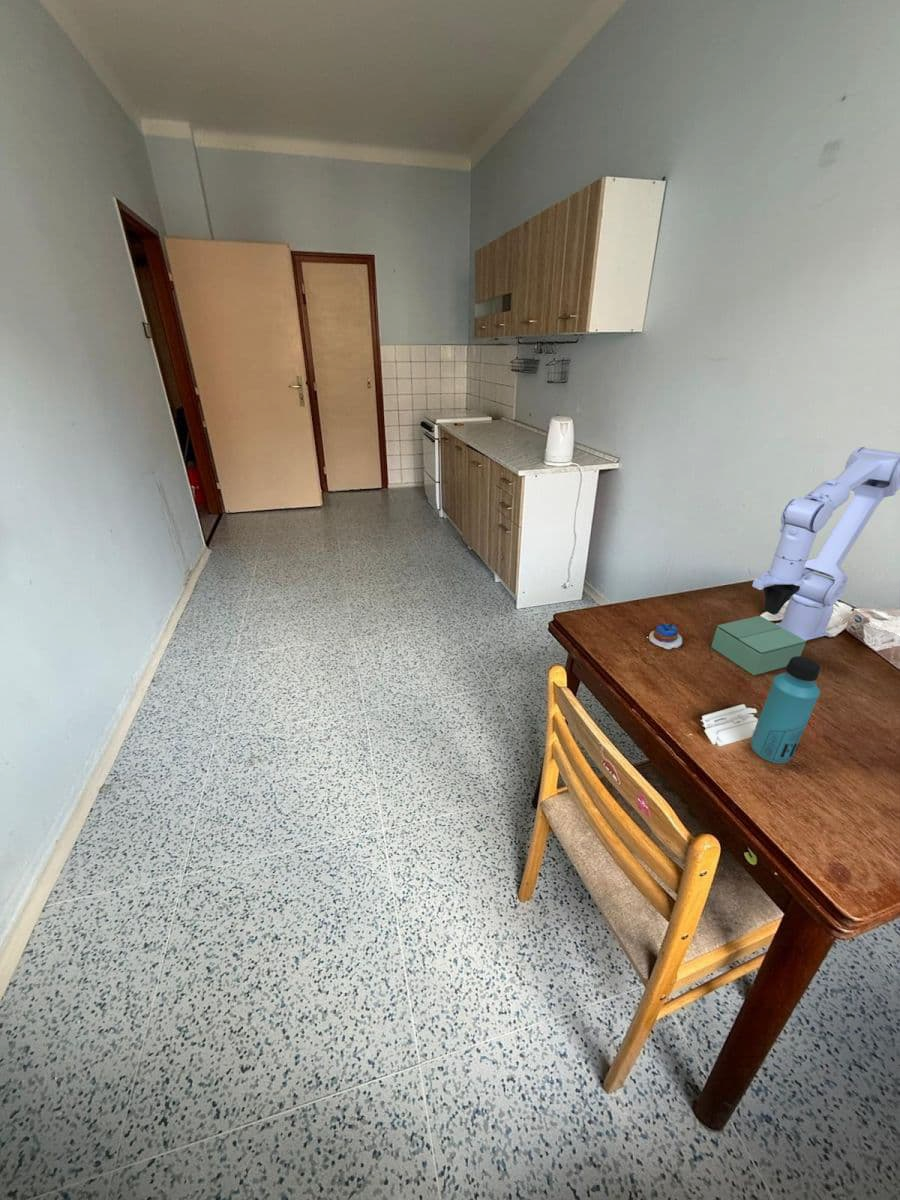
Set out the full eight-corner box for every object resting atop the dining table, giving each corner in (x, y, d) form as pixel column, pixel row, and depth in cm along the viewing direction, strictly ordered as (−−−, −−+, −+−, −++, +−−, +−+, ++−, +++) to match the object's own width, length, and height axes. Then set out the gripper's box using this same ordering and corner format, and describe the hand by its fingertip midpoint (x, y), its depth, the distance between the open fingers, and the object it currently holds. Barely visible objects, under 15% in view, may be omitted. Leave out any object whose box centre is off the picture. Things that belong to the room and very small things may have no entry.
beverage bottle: (775, 776, 78) (817, 680, 69) (737, 750, 83) (772, 657, 74) (798, 762, 81) (842, 667, 71) (760, 737, 86) (796, 646, 77)
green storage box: (752, 636, 115) (759, 615, 112) (797, 663, 106) (806, 640, 103) (711, 646, 112) (717, 625, 109) (753, 675, 102) (762, 652, 99)
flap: (781, 629, 108) (782, 628, 108) (805, 641, 103) (806, 640, 103) (738, 639, 104) (739, 638, 104) (761, 653, 99) (761, 652, 99)
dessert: (657, 624, 120) (673, 614, 115) (675, 645, 118) (692, 635, 113) (640, 638, 115) (657, 627, 110) (659, 660, 114) (676, 650, 109)
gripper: (782, 568, 94) (762, 626, 100) (835, 558, 97) (812, 614, 104) (751, 555, 99) (734, 611, 106) (802, 546, 103) (783, 600, 110)
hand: (771, 612), depth 105 cm, fingers closed
